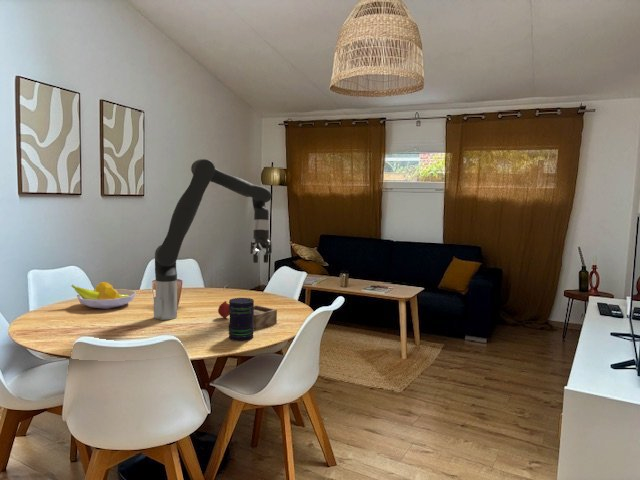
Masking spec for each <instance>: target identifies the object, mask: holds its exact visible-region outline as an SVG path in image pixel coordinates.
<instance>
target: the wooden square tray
mask: <svg viewBox="0 0 640 480" xmlns="http://www.w3.org/2000/svg"><path fill="white" fill-rule="evenodd" d="M277 315H278V309H276V308H271V307H266V306H263V305H262V306H261V305H259V304H254V314H253V324H254V331H255V330H259V329H263V328H266V327H269V326H272V325H276V324H277V321H278V320H277V318H278V316H277Z"/></svg>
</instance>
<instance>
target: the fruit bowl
mask: <svg viewBox="0 0 640 480" xmlns="http://www.w3.org/2000/svg"><path fill="white" fill-rule="evenodd" d="M71 287H72V288H73V289H74V291H75V292H76V293H77V295H76V297H77V299H78V301H79V304H82V305H84V306H87V307H89V308H93V309H103V310H110V309H113V308H119V307H123V306H125V305H126V304H128V303H130V302H133V300H134V298H135V296H136V295H137V292H136V291H134V290H133V289H125V288H124V289H123V288H114V286H113V285H112V284H110V283H109V282H107V281H101V282H99V283H98V284H97V285H96V286H95V288H94V290H90V289H87V288H84V287H79V286H75V285H74V284H72V285H71Z"/></svg>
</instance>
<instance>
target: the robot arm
mask: <svg viewBox="0 0 640 480" xmlns="http://www.w3.org/2000/svg"><path fill="white" fill-rule="evenodd" d="M190 167H191V168H190V170H191V173H192V178H191V180H190V182H189V184H188V187H187V188H186V189H185V191H184V192H183V194H182V195H181V197H180V198H179V200H178V201H177V203H176V205H175V208H174V210H173V213H172V216H171V219H170V222H169V227H168V230H167V231H168V232H167V233H166V236H165V238H164V240H163V241H162V244H161V245H159V246H157V248H156V249H155V251H154V275H155V277H154V278H155V296H154V297H153V318H154V319H157V320H160V321H163V320H164V321H165V320H166V321H167V320H173V319H176V318H178V273H177V272H178V271H177V260H178V257H179V254H180V251H181V249H182V248H181V247H182V245H183V242H184V239H185V237H186V235H187V233H188V232H189V230H190V227H191V225H192V223H193V221H194V219H195V217H196V214H197V212H198V210H199V207H200V205H201V202H202V200H203V197H204V194H205V191H206V190H207V188H208V186H209V184H210V183H214V184H216V185H219V186H222V187H224V188H225V189H228V190H229V191H232V192H234V193H236V194H238V195H241V196H243V197H245V198H251V199H252V206H253V211H254V215H253V232H252V233H253V240H254V241H251V242H250V251H249V252H250V254H251V255H252V260H253V261H252V262H253V263H254V264H257V263H258V262H259V260H258V259H259V253H260V252H262V253H263V263H265V264H267V263H269V255H270V254H272V249H273V248H272V245H273V244H272V241H271V240H269V238H270V223H269V222H270V221H269V219H270V218H269V214H270V213H269V209H268V208H266V207H267V206H266V203H269V202H270V201H271V199H272V193H271V190H269V189H268V188H266V187H264V186H262V185H261V186H260V185H257V184H254V183H251V182H249V181H247V180H245V179H243V178H240V177H237V176H234V175H231V174H228V173H227V172H223V171H221V170H219V169H217V168H216V167H215V164H214V163H213V161H211V160H210V159H206V158H202V159H197V160H195V161H194V162H193V163H192V164H191V166H190Z"/></svg>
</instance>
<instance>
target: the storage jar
mask: <svg viewBox="0 0 640 480" xmlns="http://www.w3.org/2000/svg"><path fill="white" fill-rule="evenodd" d="M254 302H255V299H253V298H249V297H235V298H231V299H229V301H228V304H229V322H228V323H229V324H228V339H229V340H231V341H234V342H247V341H250V340H253V339H254V332H255V329H254V324H253V314H254V305H255V304H254Z"/></svg>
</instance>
